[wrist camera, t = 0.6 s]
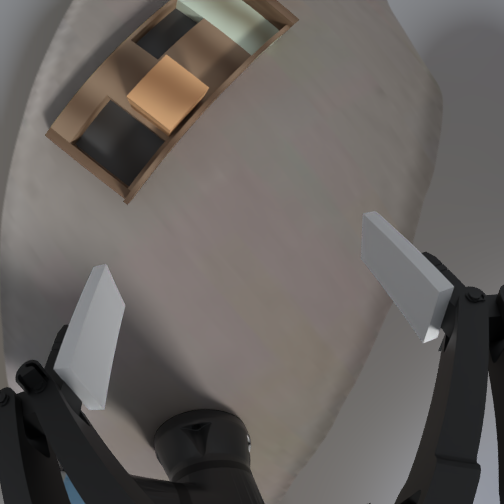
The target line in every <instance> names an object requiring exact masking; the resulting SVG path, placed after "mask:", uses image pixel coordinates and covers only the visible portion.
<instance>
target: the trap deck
mask: <svg viewBox="0 0 504 504" xmlns="http://www.w3.org/2000/svg"><path fill="white" fill-rule="evenodd" d="M298 20H299V19H298V18H297V17H296V16H294V15H293V14H292V13H291V12H290V11H289V10H288V9H286V8H285V7H284V6H283V5H282V4H280V3H279V2H278V1H277V0H170V1H169V2H168V3H166V4H165V5H164V6H163V7H161V8H160V9H159V10H158V11H157V12H155V13H154V14H153V15H152V16H151V17H150V18H148V19H147V20H146V21H145V22H144V23H143V24H142V25H141V26H139V27H138V28H137V29H136V30H135V31H134V32H133V33H132V34H131V35H130V36H129V37H128V38H127V39H126V40H125V41H124V42H122V43H121V44H120V45H119V46H118V47H117V48H116V49H115V50H114V52H113V53H112V54H111V55H110V56H109V57H108V58H107V59H106V60H105V61H104V62H103V63H102V64H101V65H100V66H99V67H98V69H97V70H96V71H95V72H94V73H93V74H92V75H91V76H90V78H89V79H88V80H87V81H86V82H85V83H84V85H83V86H82V87H81V88H80V89H79V91H78V92H77V93H76V94H75V95H74V97H73V98H72V99H71V100H70V102H69V103H68V104H67V106H66V107H65V108H64V109H63V111H62V112H61V113H60V115H59V116H58V118H57V119H56V120H55V122H54V123H53V124H52V126H51V127H50V129H49V130H48V132H47V133H46V134H45V136H46V137H47V138H49V139H50V140H51V141H52V142H54V143H55V144H56V145H57V146H58V147H60V148H61V149H62V150H63V151H65V152H66V153H67V154H68V155H70V156H71V157H72V158H73V159H75V160H76V161H77V162H78V163H80V164H81V165H82V166H83V167H85V168H86V169H87V170H88V171H90V172H91V173H92V174H93V175H95V176H96V177H97V178H99V179H100V180H101V181H102V182H104V183H105V184H106V185H107V186H109V187H110V188H111V189H113V190H114V191H115V192H116V193H118V194H119V195H120V196H122V197H123V198H124V199H125V200H124V201H123V202H124V203H126V204H127V205H128V204H129V202H130V201H131V200H132V199H133V198H134V196H135V195H136V194H137V192H138V191H139V190H140V188H141V187H142V186H143V184H144V183H145V182H146V181H147V179H148V178H149V177H150V175H151V174H152V173H153V172H154V170H155V169H156V168H157V166H158V165H159V164H160V163H161V162H162V160H163V159H164V158H165V157H166V155H167V154H168V153H169V152H170V151H171V149H172V148H173V147H174V146H175V145H176V143H177V142H178V141H179V140H180V139H181V137H182V136H183V135H184V134H185V133H186V132H187V130H188V129H189V128H190V127H191V126H192V125H193V124H194V123H195V121H196V120H197V119H198V118H199V117H200V116H201V115H202V114H203V113H204V111H205V110H206V109H207V108H208V107H209V106H210V105H211V104H212V103H213V102H214V101H215V100H216V99H217V98H218V96H219V95H220V94H221V93H222V92H223V91H224V90H225V89H226V88H227V87H228V86H229V85H230V84H231V83H232V82H233V81H234V80H235V79H236V78H237V77H238V76H239V75H240V74H241V73H242V72H243V71H244V70H245V69H246V68H247V67H248V66H249V65H250V64H251V63H252V62H253V61H255V60H256V59H257V58H258V57H259V56H260V55H261V54H262V53H263V52H264V51H265V50H266V49H267V48H269V47H270V46H271V45H272V44H273V43H274V42H275V41H276V40H277V39H279V38H280V37H281V36H282V35H283V34H284V33H285V32H286V31H287V30H288V29H289V28H291V27H292V26H293V25H294V24H295V23H296V22H297V21H298ZM165 55H168V56H169V57H170V58H172V59H173V60H174V61H176V62H177V63H178V64H180V65H181V66H182V67H184V68H185V69H186V70H187V71H189V72H190V73H191V74H193V75H194V76H195V77H196V78H198V79H199V80H200V81H201V82H203V83H204V84H205V85H206V86H208V87H209V89H208V90H207V92H206V94H205V95H204V97H203V98H202V100H201V101H200V102H199V103H198V104H197V105H196V106H195V108H194V109H193V110H192V111H191V112H190V113H189V114H188V115H187V116H186V117H185V119H184V120H183V121H182V122H181V123H180V124H179V125H178V127H177V128H176V129H175V130H174V131H173V132H172V134H171V135H170V136H167V135H166V134H165V133H164V132H162V131H161V130H160V129H158V128H157V127H156V126H155V125H153V124H152V123H151V122H150V121H148V120H147V119H146V118H144V117H143V116H142V115H141V114H139V113H138V112H137V111H136V110H134V109H133V108H132V107H131V105H130V103H129V101H128V98H127V95H128V94H129V93H130V92H131V91H132V90H133V88H134V87H135V86H136V85H137V84H138V83H139V82H140V81H141V80H142V79H143V78H144V77H145V76H146V75H147V73H148V72H149V71H150V70H151V69H152V68H153V67H154V66H155V65H156V64H157V63H158V62H159V61H160V60H161V59H162V58H163V57H164V56H165Z"/></svg>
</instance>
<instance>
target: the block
mask: <svg viewBox="0 0 504 504" xmlns="http://www.w3.org/2000/svg"><path fill="white" fill-rule="evenodd" d="M208 89H209V87H208V86H206V85H205V84H204V83H203V82H201V81H200V80H199V79H198V78H196V77H195V76H194V75H193V74H191V73H190V72H189V71H187V70H186V69H185V68H184V67H182V66H181V65H180V64H178V63H177V62H176V61H174V60H173V59H172V58H170V57H169V56H168V55H165V56H164V57H163V58H162V59H161V60H160V61H159V62H158V63H157V64H156V65H155V66H154V67H153V68H152V69H151V70H150V71H149V72H148V73H147V75H146V76H145V77H144V78H143V79H142V80H141V81H140V82H139V83H138V84H137V85H136V86H135V87H134V88H133V90H132V91H131V92H130V93H129V94H128V95H127V98H128V101H129V103H130V105H131V107H132V108H133V109H134V110H136V111H137V112H138V113H139V114H141V115H142V116H143V117H144V118H146V119H147V120H148V121H150V122H151V123H152V124H153V125H155V126H156V127H157V128H158V129H160V130H161V131H162V132H164V133H165V134H166V135H167V136H170V135H171V134H172V132H173V131H174V130H175V129H176V128H177V127H178V125H179V124H180V123H181V122H182V121H183V120H184V119H185V117H186V116H187V115H188V114H189V113H190V112H191V111H192V110H193V109H194V108H195V106H196V105H197V104H198V103H199V102H200V101H201V100H202V98H203V97H204V95H205V94H206V92H207V90H208Z"/></svg>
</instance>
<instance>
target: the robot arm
mask: <svg viewBox="0 0 504 504" xmlns="http://www.w3.org/2000/svg"><path fill="white" fill-rule="evenodd" d="M361 259H362V261H363V262H364V263H365V264H366V266H367V267H368V268H369V270H370V271H371V272H372V273H373V275H374V276H375V277H376V279H377V280H378V281H379V283H380V284H381V285H382V287H383V288H384V289H385V291H386V292H387V293H388V295H389V296H390V297H391V299H392V300H393V302H394V303H395V304H396V306H397V307H398V308H399V310H400V311H401V313H402V314H403V315H404V317H405V318H406V319H407V321H408V322H409V324H410V325H411V327H412V328H413V329H414V331H415V332H416V334H417V335H418V337H419V338H420V340H421V341H422V343H425V342H428V341H430V340H432V339H435V338H437V336H438V334H439V331H440V328H442V329H443V331H444V332H445V336H444V338H443V341H442V343H441V346H440V348H439V351H441V357H440V363H439V368H438V373H437V378H436V383H435V388H434V392H433V397H432V401H431V405H430V409H429V413H428V417H427V421H426V424H425V428H424V431H423V435H422V438H421V441H420V445H419V448H418V451H417V454H416V457H415V460H414V463H413V466H412V468H411V471H410V474H409V477H408V479H407V481H406V483H405V485H404V487H403V488H402V490H401V492H400V494H399V495H398V497H397V499H396V502H395V504H473V501H474V497H475V494H476V490H477V486H478V483H479V478H480V473H481V468H480V465H479V464H478V463H477V453H478V448H479V443H480V437H481V432H482V425H483V418H484V410H485V402H486V392H487V379H488V372H489V377H490V383H491V389H492V395H493V402H494V410H495V418H496V429H497V441H498V460H499V461H498V462H499V496H500V504H504V285H503V286H501V288H500V290H499V293H498V294H496V295H485V293H483V291H481V290H480V289H478V288H475V287H465V286H464V285H463V284H462V283H461V282H460V281H459V280H458V279H457V277H456V276H455V275H453V274H452V272H450V270H447V267H446V266H444V265H442V263H441V262H440V261H439V260H438V259H437V258H436V257H435V256H433V255H431V254H429V253H427V252H424V253H420V252H419V251H418V250H417V249H416V248H415V247H414V246H413V245H412V244H411V243H410V242H409V241H408V240H407V239H406V238H405V237H404V236H403V235H402V234H401V233H399V232H398V231H397V230H396V229H395V228H394V227H393V226H392V225H391V224H390V223H389V222H387V221H386V220H385V219H384V218H383V217H382V216H381V215H380V214H378V213H377V212H376V211H373V212H367V213H363V223H362V245H361ZM124 309H125V304H124V301H123V299H122V297H121V295H120V293H119V291H118V289H117V286H116V284H115V282H114V280H113V278H112V275H111V273H110V271H109V268H108V266H107V264H103V265H99V266H94V267H93V269H92V271H91V274H90V276H89V278H88V280H87V282H86V285H85V287H84V289H83V292H82V294H81V296H80V299H79V301H78V303H77V306H76V308H75V311H74V313H73V316H72V318H71V321H70V323H69V325H64V326H63V327H62V329H61V330H60V331H59V332H58V334H57V336H56V339H55V341H54V344H53V347H52V351H51V352H50V355H49V357H48V360H47V363H46V366H45V369H44V368H43V367H42V366H41V364H40V363H39V362H38V361H36V360H30V361H27V362H25V363H24V364H23V365H22V366H21V367H20V368H19V369H18V371H17V373H16V382H17V383H18V385H19V386H20V387H21V388H22V389H23V390H24V392H21V393H18V394H16V393H15V392H14V391H13V390H12V389H11V388H8V387H6V388H3V389H2V390H0V483H1V489H2V494H3V499H4V504H265V503H264V501H263V499H262V496H261V494H260V492H259V489H258V487H257V485H256V482H255V480H254V478H253V475H252V472H251V470H250V448H251V440H250V436H249V434H248V431H247V429H246V427H245V425H244V423H243V422H242V421H241V420H240V419H238V418H237V417H235V416H233V415H231V414H229V413H226V412H222V411H217V410H196V411H190V412H186V413H183V414H180V415H177V416H175V417H173V418H171V419H169V420H168V421H166V422H165V423H164V424H163V425H162V426H161V427H160V428H159V429H158V430H157V432H156V435H155V438H154V444H155V453H156V456H157V459H158V460H159V462H160V464H161V465H162V466H163V468H164V470H165V472H166V474H167V476H168V478H169V480H170V481H164V480H158V479H152V478H146V477H140V476H135V475H130V474H128V473H127V471H126V470H125V469H124V468H123V466H122V465H121V464H120V463H119V461H118V460H117V459H116V458H115V456H114V455H113V454H112V452H111V451H110V450H109V448H108V447H107V446H106V444H105V443H104V442H103V440H102V439H101V438H100V436H99V435H98V433H97V432H96V430H95V429H94V428H93V426H92V425H91V423H90V422H89V420H88V419H87V417H86V416H85V414H84V413H83V412H82V411H81V405H82V403H83V404H84V405H85V406H86V407H87V408H88V409H89V410H105V403H106V397H107V391H108V385H109V379H110V374H111V369H112V363H113V358H114V353H115V349H116V344H117V339H118V335H119V330H120V326H121V322H122V317H123V313H124ZM56 456H57V458H58V460H59V462H60V464H61V465H62V467H63V469H64V471H65V472H66V475H65V478H64V482H63V478H62V475H61V472H60V468H59V465H58V461H57V458H56ZM369 504H370V503H369Z"/></svg>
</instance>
